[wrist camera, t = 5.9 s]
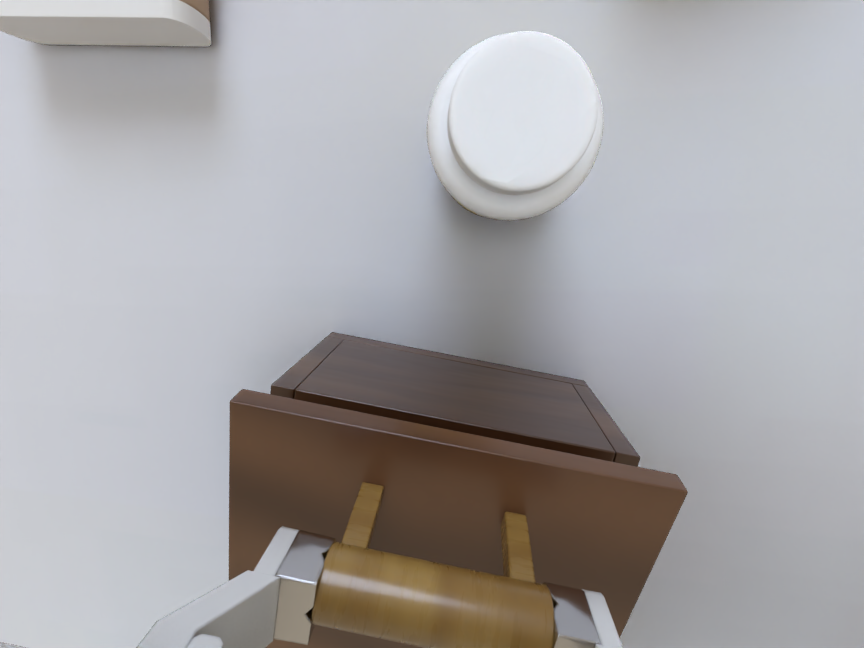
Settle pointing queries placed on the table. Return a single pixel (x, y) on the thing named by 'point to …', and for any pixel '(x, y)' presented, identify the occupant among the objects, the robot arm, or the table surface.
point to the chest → (457, 396)
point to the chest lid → (438, 525)
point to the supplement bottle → (515, 125)
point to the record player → (108, 22)
